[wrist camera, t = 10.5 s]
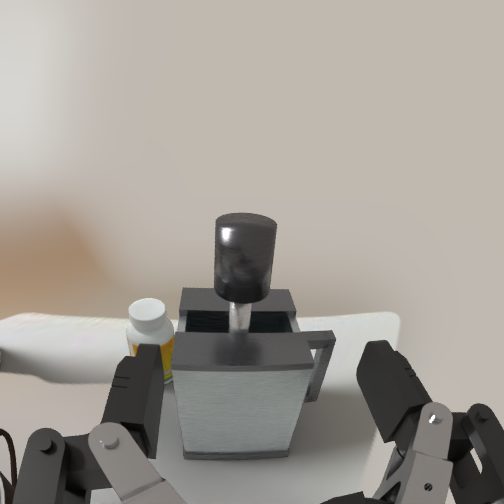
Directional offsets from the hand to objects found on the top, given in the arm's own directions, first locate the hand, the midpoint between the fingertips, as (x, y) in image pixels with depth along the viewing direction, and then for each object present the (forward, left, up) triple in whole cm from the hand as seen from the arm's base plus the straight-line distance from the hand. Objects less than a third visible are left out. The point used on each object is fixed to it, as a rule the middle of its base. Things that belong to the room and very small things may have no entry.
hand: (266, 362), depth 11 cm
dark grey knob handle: (0, +11, -16) cm, 20 cm away
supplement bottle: (-9, +18, -20) cm, 29 cm away
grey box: (+2, +11, -20) cm, 23 cm away
